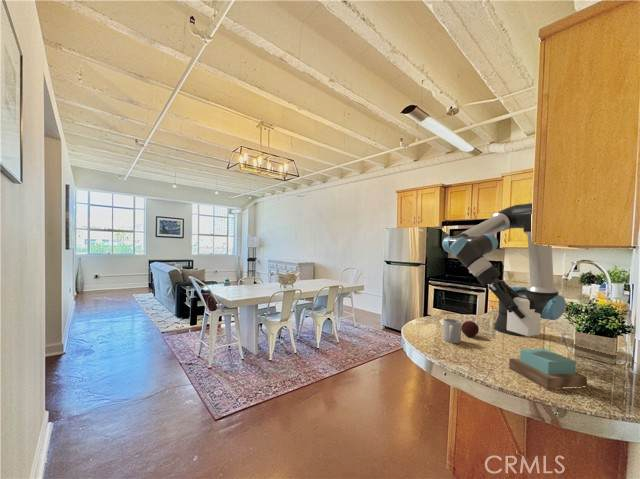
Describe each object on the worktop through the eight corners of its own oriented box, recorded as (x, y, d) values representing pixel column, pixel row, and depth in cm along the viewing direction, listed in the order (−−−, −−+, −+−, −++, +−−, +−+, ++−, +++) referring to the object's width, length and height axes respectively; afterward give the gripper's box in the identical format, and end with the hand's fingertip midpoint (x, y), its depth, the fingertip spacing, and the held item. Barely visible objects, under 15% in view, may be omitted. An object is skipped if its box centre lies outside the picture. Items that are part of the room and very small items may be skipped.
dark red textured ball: (477, 334, 133) (477, 320, 133) (479, 339, 126) (479, 324, 126) (460, 332, 136) (461, 318, 136) (461, 337, 129) (462, 322, 129)
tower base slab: (543, 369, 99) (544, 357, 99) (586, 389, 85) (586, 376, 85) (509, 370, 97) (509, 358, 97) (547, 391, 83) (547, 378, 83)
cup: (460, 339, 125) (461, 320, 125) (460, 346, 116) (461, 325, 116) (443, 336, 128) (444, 317, 129) (441, 343, 120) (442, 323, 120)
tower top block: (545, 360, 97) (545, 348, 97) (575, 373, 87) (575, 361, 87) (520, 360, 95) (520, 349, 95) (548, 374, 85) (548, 361, 85)
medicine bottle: (518, 328, 100) (519, 295, 100) (540, 334, 93) (541, 299, 94) (506, 330, 97) (507, 296, 97) (528, 336, 90) (529, 300, 90)
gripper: (485, 276, 114) (531, 324, 102) (466, 279, 99) (518, 336, 87) (500, 264, 110) (550, 313, 98) (483, 266, 95) (539, 323, 83)
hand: (535, 323), depth 93 cm, fingers closed on medicine bottle, 9 cm apart
